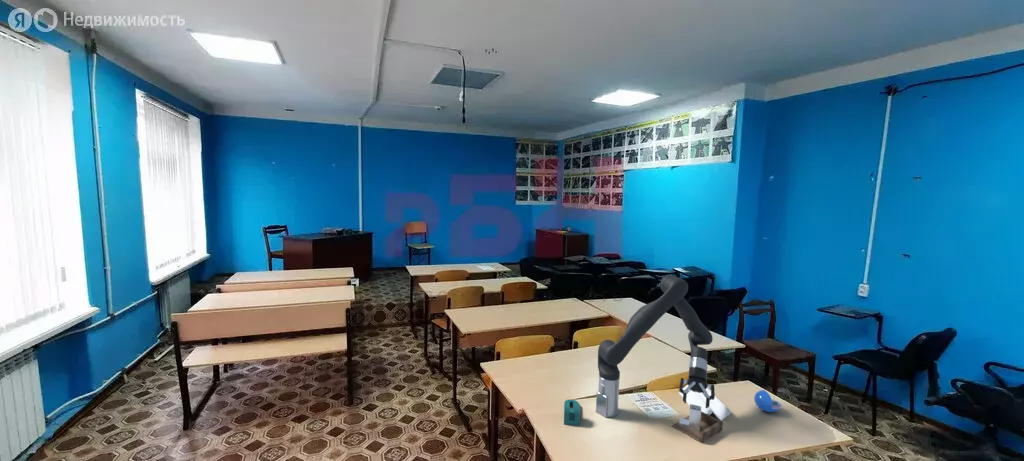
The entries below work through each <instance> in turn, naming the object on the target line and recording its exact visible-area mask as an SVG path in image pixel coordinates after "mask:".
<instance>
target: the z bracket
mask: <svg viewBox="0 0 1024 461" xmlns="http://www.w3.org/2000/svg"><path fill="white" fill-rule="evenodd" d="M687 387H688V384H687V385H685V386H683V390H685V389H686V388H687ZM705 390H706V391H707V393H708V395H709V396H711V390H709V388H708V387H707V388H706V389H705ZM678 394H679V395H680V396H681V397H682V398H683V393H680V392H679V391H678ZM686 404H687V405H688V406H689V407H690V404H693V405H697V406H701V411H702V412H704V413H706V414H708V415H710V416H711V415H712V414H713V415H714V416H715V418H716V419H718V420H720V421H722V422H723V421H724V419H726V418H727V417H729V416H730V414H732V411H731V410H730V409H729V408H728V407H727V406H726V405H725V404H724V403H723V402H722V401H721V400H720V399H719V398H717V396H716V395H715V398H714V400H710V405H709V407H708V408H706V397H705V396H704V395H703V393H698V392H693V391H692V390H691V391H690V392H688V393H687V397H686Z"/></svg>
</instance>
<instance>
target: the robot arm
mask: <svg viewBox="0 0 1024 461" xmlns="http://www.w3.org/2000/svg"><path fill="white" fill-rule="evenodd" d="M659 284H660V290H661V291H662V292H663V294H662V295H661V296H659V298H657V299H655V300H654V301H651V302H649V303H646V304H644V305H643V306H641V307H640V308H638V309H637V310H636V312H635V313H634V314H633V315H632V316H631V317H630V319H629V320H628V323H627V326H626V328H625V331H624V333H623V334H622V336H620V338H619V339H618V340H617V341H616V342H615V341H613V340H612V339H604V340H603V341H601V343H600V344H599V346H598V349H597V368H598V388H597V389H598V390H597V391H596V401H595V403H596V404H595V412H596V413H597V414H599V415H601V416H602V417H604V418H614V417H616V416H618V412H619V395H620V394H619V393H620V377H621V373H620V370H619V367H618V365H620V364H621V363H622V362H623V361H624V359H626V357H627V355H629V353H630V352H631V350H632V349H633V348H634V347H635V346H636V345H637V343H639V341H640V340H641V339H642V338H643V337H644V336H645V334H646V333H648V331H650V329H651V328H652V327H654V325H656V323H657V322H658V321H659V320H660V319H661V318H662V317H663V316H664V315H665V314H666V313H667V312H668V311H669V310H670V309H671V308H672V307H674V308H675V310H676V311H677V313H678V315H679V316H680V318H681V320H682V321H683V322H682V323H683V324H684V326H685V327H686V329H687V330H688V331H689V332H688V334H687V335H688V336H687V338H688V342H689V347H690V360H689V367H688V376H687V377H688V379H684V378H683V377H680V382H679V388H678V393H679V392H680V393H683V397H682V402H683V403H684V404H687V402H686V397H687V393H688V392H690V391H691V390H692V391H693V392H698V393H703V395H704V396H705V397H706V408H708V407H709V405H710V400H714V398H715V396H716V394H715V384H708V382H707V381H708V380H707V379H708V350H707V349H706V348H705V347H702V346H704V345H711V344H712V343H713V340H714V339H713V335H712V333H711V331H710V330H709V328H708V327H707V326H706V325H705V324H703V323H702V321H701V320H700V318H699V316H698V313H696V311H695V309H694V308H693V307H692V306H691V305H690V304H689V302H688V301H687V300H686V299H685V296H686V294H688V290H689V284H688V282H687V281H686V280H684V279H682V278H681V277H677V276H675V275H671V274H667V275H665V276H664V277H662V278H661V280H660V283H659ZM685 384H687V385H688V387H687V388H686V389H685V390H683V388H684V385H685ZM706 388H707V389H708V390H709V391H710V392H711V396H709V395H708V393H707V391H706V390H705V389H706Z"/></svg>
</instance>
